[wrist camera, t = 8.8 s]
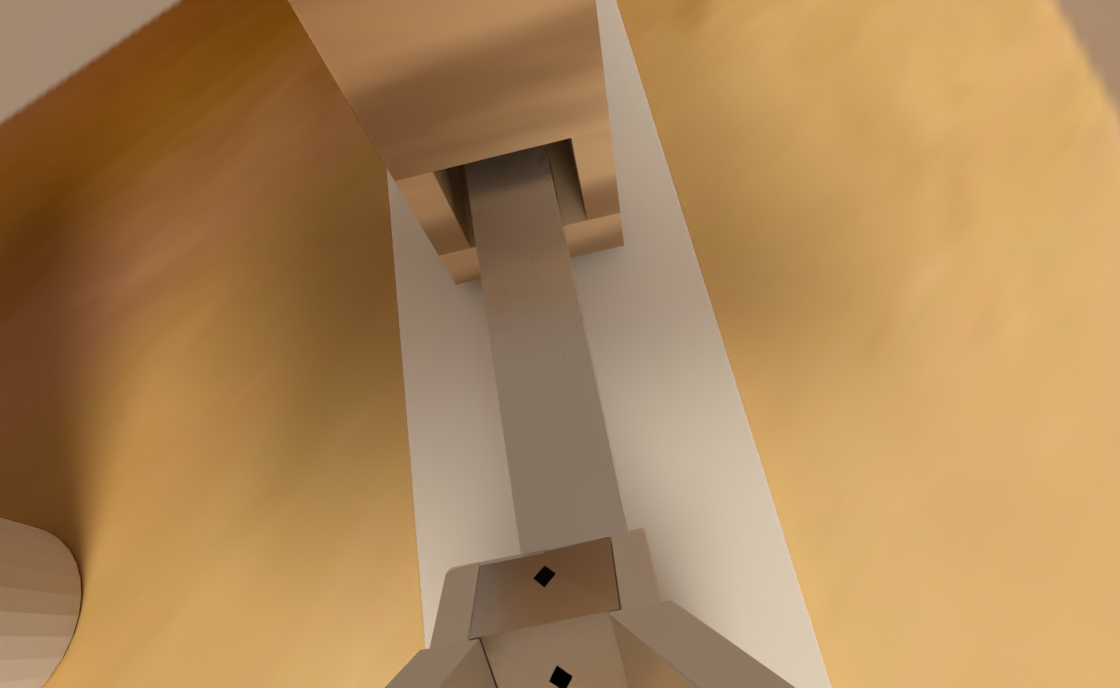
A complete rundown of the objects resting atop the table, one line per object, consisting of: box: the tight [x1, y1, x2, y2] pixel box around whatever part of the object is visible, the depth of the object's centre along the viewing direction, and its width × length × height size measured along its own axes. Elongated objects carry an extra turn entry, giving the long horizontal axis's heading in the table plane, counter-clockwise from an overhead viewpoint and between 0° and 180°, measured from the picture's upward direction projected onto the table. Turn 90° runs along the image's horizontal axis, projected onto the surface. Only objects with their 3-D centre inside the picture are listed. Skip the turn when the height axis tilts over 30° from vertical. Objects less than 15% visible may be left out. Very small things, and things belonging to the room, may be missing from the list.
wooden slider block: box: [288, 0, 624, 285], centre depth 17 cm, size 5×6×13 cm
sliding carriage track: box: [464, 144, 630, 554], centre depth 19 cm, size 28×5×7 cm, turn 10°
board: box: [386, 0, 832, 688], centre depth 22 cm, size 28×10×1 cm, turn 10°
